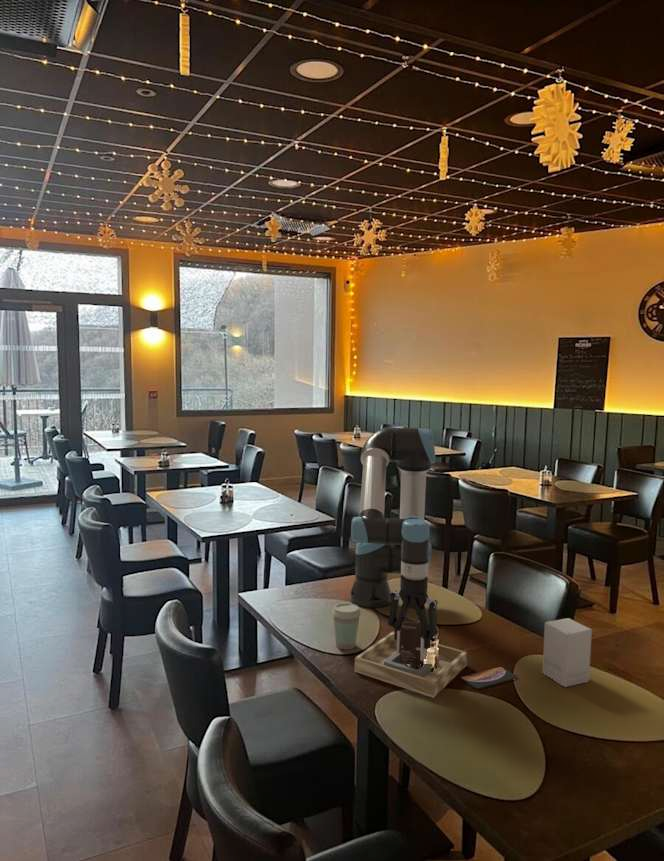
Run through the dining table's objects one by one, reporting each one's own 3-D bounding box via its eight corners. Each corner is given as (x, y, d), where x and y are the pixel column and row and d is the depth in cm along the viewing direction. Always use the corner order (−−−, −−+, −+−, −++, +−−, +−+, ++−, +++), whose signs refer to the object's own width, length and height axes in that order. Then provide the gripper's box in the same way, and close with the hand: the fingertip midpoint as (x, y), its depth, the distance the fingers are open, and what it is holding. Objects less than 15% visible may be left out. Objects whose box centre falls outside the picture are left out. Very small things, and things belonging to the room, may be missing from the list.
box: (399, 664, 179) (400, 622, 177) (402, 657, 183) (403, 616, 182) (421, 667, 177) (422, 625, 175) (423, 660, 181) (424, 619, 180)
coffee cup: (360, 640, 198) (361, 602, 197) (358, 652, 189) (359, 613, 188) (333, 638, 199) (333, 601, 197) (330, 650, 190) (330, 612, 189)
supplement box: (590, 682, 174) (593, 629, 172) (564, 688, 170) (567, 634, 169) (566, 667, 182) (569, 616, 181) (541, 672, 179) (543, 621, 177)
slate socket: (402, 653, 188) (402, 647, 188) (438, 664, 181) (438, 657, 181) (383, 668, 178) (383, 661, 178) (420, 680, 172) (420, 673, 172)
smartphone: (458, 676, 175) (500, 665, 182) (458, 679, 175) (500, 668, 182) (476, 688, 168) (519, 676, 175) (476, 691, 168) (519, 679, 175)
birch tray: (392, 643, 196) (392, 631, 195) (466, 665, 182) (467, 652, 182) (354, 671, 178) (354, 657, 177) (433, 697, 164) (434, 683, 164)
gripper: (376, 572, 180) (374, 650, 182) (441, 586, 169) (438, 670, 171) (389, 565, 186) (387, 641, 188) (452, 579, 175) (449, 659, 177)
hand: (411, 654), depth 180 cm, fingers closed on box, 7 cm apart
